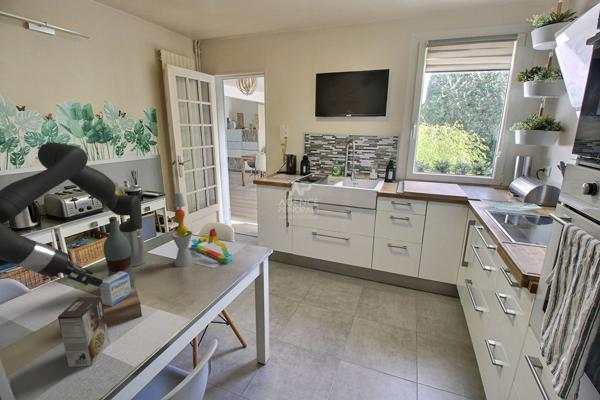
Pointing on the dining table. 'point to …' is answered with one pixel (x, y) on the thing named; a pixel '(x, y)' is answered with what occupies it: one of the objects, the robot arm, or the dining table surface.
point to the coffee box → (84, 331)
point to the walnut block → (123, 310)
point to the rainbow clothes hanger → (209, 252)
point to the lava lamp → (181, 235)
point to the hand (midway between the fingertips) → (95, 279)
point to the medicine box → (115, 288)
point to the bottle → (118, 252)
